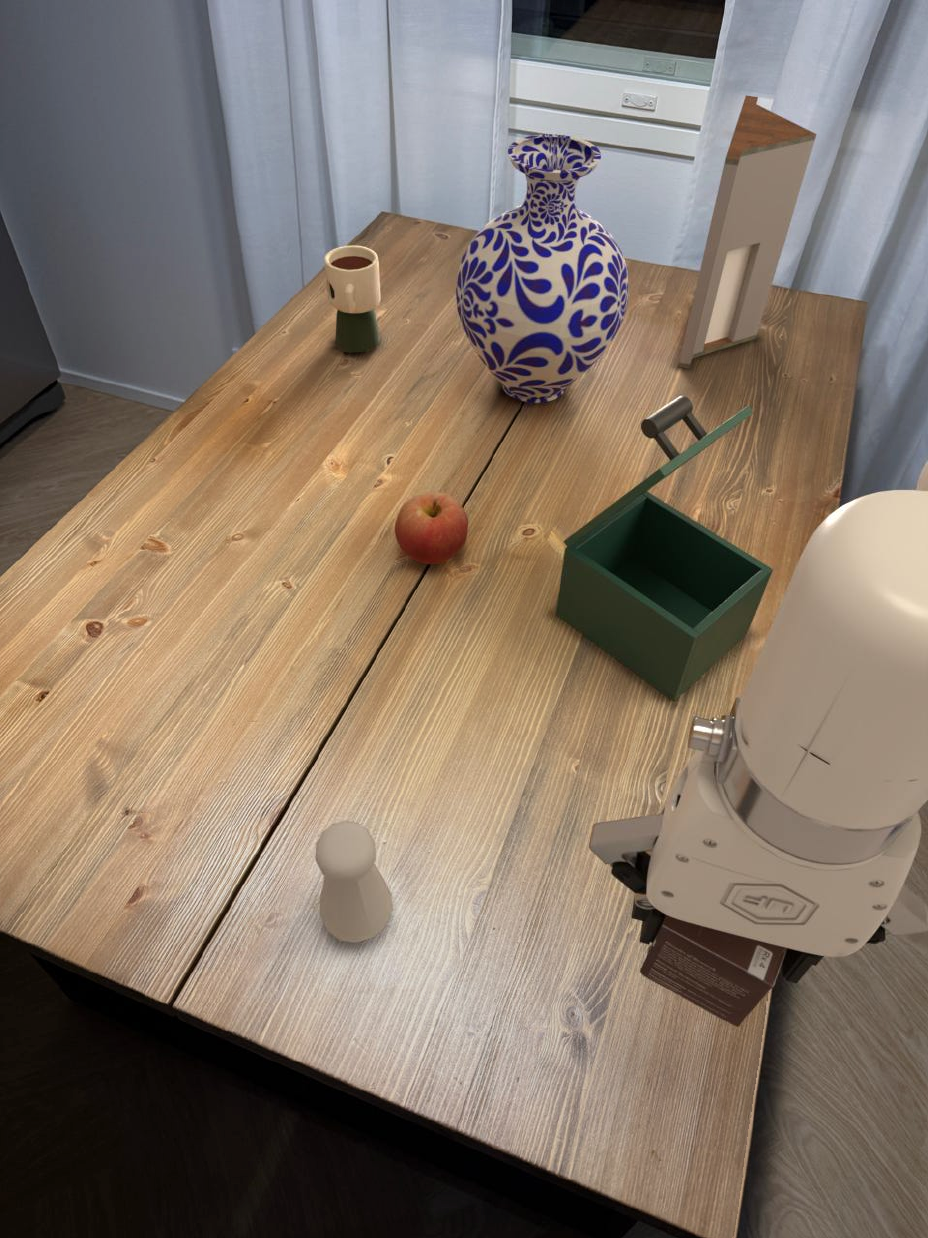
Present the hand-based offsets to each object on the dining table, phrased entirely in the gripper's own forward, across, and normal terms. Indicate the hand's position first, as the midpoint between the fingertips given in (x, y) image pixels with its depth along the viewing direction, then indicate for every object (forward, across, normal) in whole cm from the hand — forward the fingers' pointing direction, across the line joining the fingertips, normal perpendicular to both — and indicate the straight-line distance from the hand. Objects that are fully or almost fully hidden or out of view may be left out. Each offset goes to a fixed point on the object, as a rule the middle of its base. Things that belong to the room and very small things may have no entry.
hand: (718, 935), depth 49 cm
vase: (+23, -26, +81) cm, 88 cm away
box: (+3, 0, 0) cm, 3 cm away
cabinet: (+23, -2, +101) cm, 103 cm away
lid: (+5, -8, +44) cm, 45 cm away
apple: (+23, -30, +46) cm, 59 cm away
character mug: (+22, -52, +83) cm, 101 cm away
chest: (+22, -5, +42) cm, 48 cm away
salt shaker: (+22, -24, +4) cm, 33 cm away
